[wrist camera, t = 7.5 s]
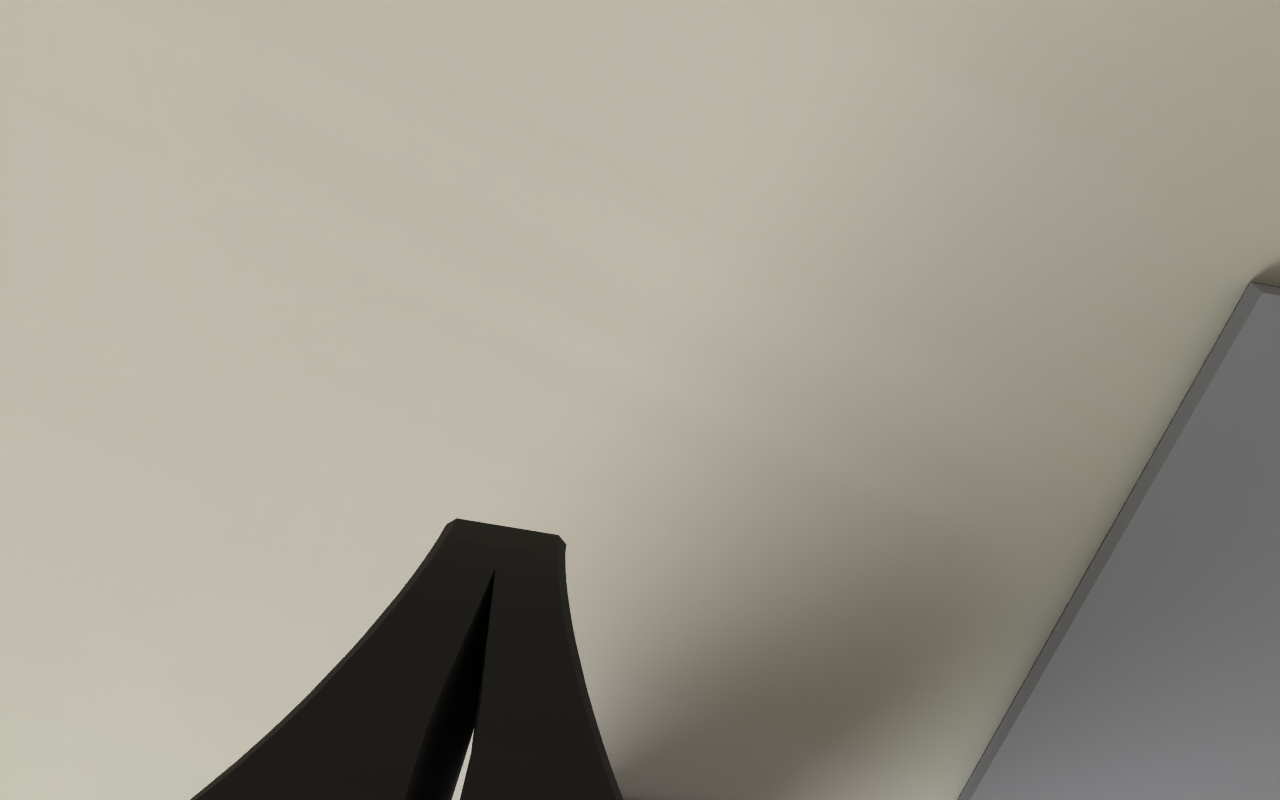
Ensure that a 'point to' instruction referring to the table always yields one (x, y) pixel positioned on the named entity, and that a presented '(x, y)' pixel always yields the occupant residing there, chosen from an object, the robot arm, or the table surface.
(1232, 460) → the mat
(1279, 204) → the table surface
